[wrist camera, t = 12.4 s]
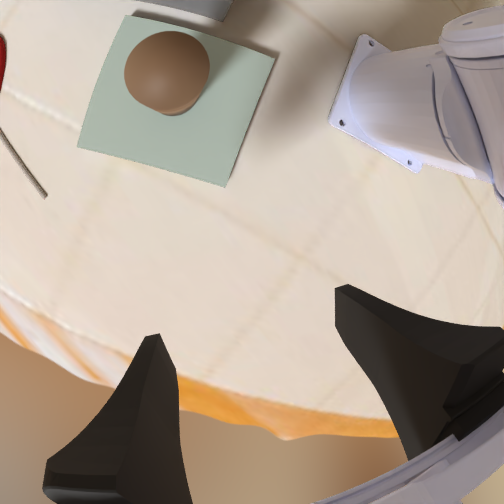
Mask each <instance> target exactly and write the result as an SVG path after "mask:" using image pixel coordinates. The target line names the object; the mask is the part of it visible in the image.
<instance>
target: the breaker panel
mask: <svg viewBox="0 0 504 504" xmlns="http://www.w3.org/2000/svg"><path fill="white" fill-rule="evenodd" d="M136 1H142V2H148V3H153V4H158V5H163V6H167V7H172V8H176V9H180V10H184V11H188V12H192V13H195V14H199V15H202V16H206V17H209V18H212V19H216V20H219V21H222V22H223V20H224V18H225V16H226V14H227V12H228V10H229V8H230V6H231V4H232V2H233V0H136Z"/></svg>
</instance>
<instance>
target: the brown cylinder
mask: <svg viewBox="0 0 504 504" xmlns="http://www.w3.org/2000/svg"><path fill="white" fill-rule="evenodd" d="M209 71H210V61H209V57H208V54H207V51H206V50H205V48H204V46H203V45H202V44H201V43H200V42H199V41H198V40H197V39H196V38H194V37H193V36H191V35H189V34H186V33H183V32H179V31H163V32H159V33H155V34H153V35H150V36H149V37H147V38H145V39H144V40H142V41H141V42H140V43H138V44H137V45H136V46H135V48H134V49H133V50H132V51H131V53H130V54H129V56H128V58H127V61H126V64H125V68H124V80H125V84H126V87H127V89H128V91H129V93H130V94H131V95H132V97H133V98H134V99H135V100H137V101H138V102H139V103H141V104H143V105H145V106H147V107H149V108H151V109H153V110H155V111H157V112H159V113H161V114H163V115H166V116H178V115H182V114H184V113H186V112H188V111H189V110H190V109H191V108H192V107H193V106H194V105H195V103H196V101H197V99H198V97H199V95H200V93H201V91H202V89H203V88H204V86H205V84H206V82H207V79H208V76H209Z"/></svg>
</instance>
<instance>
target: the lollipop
mask: <svg viewBox="0 0 504 504" xmlns="http://www.w3.org/2000/svg"><path fill="white" fill-rule="evenodd" d="M5 62H6V48H5V43H4V41H3V39H2V38H1V37H0V91H1V86H2V81H3V76H4V70H5ZM0 139H1V140H2V142H3V144H4V145H5V147H6V148H7V150H8V151H9V153H10V154H11V156H12V157H13V158H14V160H15V161H16V163H17V164H18V166H19V167H20V168H21V170H22V171H23V173H24V174H25V175H26V177H27V178H28V179H29V181H30V182H31V183H32V185H33V186H34V187H35V189H36V190H37V191H38V193H39V194H40V195H41V197H42V198H43V199H45V198H46V197H47V195H46V194H45V192H44V191H43V190H42V189H41V187H40V186H39V185H38V183H37V182H36V181H35V179H34V178H33V177H32V175H31V174H30V173H29V171H28V170H27V168H26V167H25V166H24V164H23V163H22V161H21V160H20V159H19V157H18V156H17V154H16V153H15V151H14V150H13V148H12V147H11V145H10V144H9V142H8V141H7V139H6V138H5V136H4V135H3V133H2V132H1V130H0Z"/></svg>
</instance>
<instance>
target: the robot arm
mask: <svg viewBox="0 0 504 504" xmlns="http://www.w3.org/2000/svg"><path fill="white" fill-rule="evenodd" d="M369 42H371V44H372V46H370V45H369ZM438 42H439V44H432V45H426V46H420V47H414V48H409V49H404V50H399V51H394V52H392V51H390V50H389V49H387V48H386V47H385V46H383V45H382V44H380V43H379V42H377V41H376V40H374V39H373V38H371V37H370V36H368V35H366V34H362V35H360V36H359V37H358V40H357V42H356V45H355V48H354V50H353V53H352V56H351V59H350V61H349V64H348V67H347V69H346V72H345V75H344V77H343V80H342V82H341V85H340V88H339V90H338V93H337V96H336V98H335V101H334V103H333V106H332V109H331V111H330V114H329V116H328V122H329V124H330V125H332V126H333V127H335V128H337V129H339V130H341V131H343V132H345V133H347V134H349V135H351V136H353V137H354V138H356V139H358V140H360V141H362V142H364V143H365V144H367V145H369V146H371V147H372V148H374V149H376V150H378V151H379V152H381V153H383V154H385V155H386V156H388V157H390V158H391V159H393V160H395V161H396V162H398V163H399V164H401V165H403V166H404V167H406V168H407V169H409V170H410V171H412V172H414V173H419V172H420V171H421V168H422V165H423V164H426V165H430V166H433V167H437V168H440V169H443V170H446V171H450V172H453V173H456V174H459V175H462V176H465V177H468V178H473V179H479V180H482V181H485V182H487V183H490V184H493V188H494V193H495V196H496V198H497V201H498V202H499V204H500V205H501V207H502V208H503V209H504V5H500V6H493V7H488V8H484V9H480V10H476V11H473V12H470V13H467V14H464V15H461V16H459V17H457V18H455V19H453V20H451V21H449V22H448V23H446V24H445V25H444V27H443V30H442V33H441V35H440V37H439V39H438ZM340 120H343V125H342V126H341V125H340V124H339V121H340ZM408 160H409V164H408ZM335 327H336V329H337V331H338V333H339V335H340V337H341V338H342V340H343V342H344V344H345V346H346V347H347V348H348V350H349V351H350V353H351V354H352V355H353V357H354V358H355V360H356V361H357V362H358V364H359V365H360V367H361V368H362V369H363V371H364V372H365V373H366V375H367V376H368V378H369V379H370V380H371V382H372V384H373V385H374V387H375V388H376V390H377V392H378V394H379V396H380V397H381V399H382V401H383V403H384V405H385V407H386V409H387V411H388V413H389V415H390V417H391V419H392V421H393V423H394V426H395V428H396V430H397V433H398V435H399V437H400V439H401V442H402V445H403V447H404V450H405V453H406V455H407V458H408V462H406V463H404V464H403V465H401V466H399V467H397V468H395V469H393V470H391V471H389V472H387V473H385V474H383V475H381V476H379V477H377V478H375V479H372V480H370V481H368V482H366V483H364V484H361V485H359V486H357V487H354V488H352V489H349V490H347V491H345V492H342V493H339V494H337V495H334V496H331V497H329V498H326V499H323V500H320V501H317V502H314V503H311V504H368V503H370V502H372V503H370V504H463V503H462V502H461V500H460V499H462V498H463V497H465V496H466V495H467V494H469V493H470V492H471V491H472V490H474V489H475V488H476V487H477V486H479V485H480V484H481V483H482V482H484V481H485V480H486V479H487V478H488V477H489V476H491V475H492V474H493V473H494V472H495V471H496V470H497V469H499V468H500V467H501V466H502V465H503V464H504V373H503V372H502V370H503V369H504V330H503V329H502V328H501V327H482V326H469V325H460V324H454V323H449V322H444V321H439V320H435V319H431V318H428V317H425V316H421V315H418V314H415V313H412V312H409V311H407V310H404V309H402V308H399V307H397V306H394V305H392V304H390V303H388V302H385V301H383V300H381V299H379V298H377V297H375V296H373V295H370V294H368V293H366V292H364V291H362V290H360V289H358V288H356V287H354V286H351V285H349V284H346V285H343V286H340V287H337V288H335ZM405 485H407V486H405ZM403 486H405V487H403ZM401 487H403V488H401ZM399 488H401V489H399ZM42 489H43V492H44V494H45V495H46V496H47V497H48V498H49V499H51V500H52V501H54V502H55V503H57V504H193V503H192V499H191V495H190V491H189V487H188V483H187V478H186V473H185V468H184V463H183V458H182V452H181V446H180V431H179V389H178V381H177V374H176V368H175V366H174V364H173V362H172V360H171V358H170V356H169V353H168V351H167V349H166V347H165V345H164V342H163V340H162V338H161V336H160V333H159V334H154V335H150V336H145V338H144V340H143V341H142V343H141V345H140V347H139V349H138V351H137V353H136V355H135V356H134V358H133V360H132V362H131V364H130V366H129V368H128V369H127V371H126V373H125V375H124V377H123V378H122V380H121V382H120V383H119V385H118V386H117V388H116V390H115V391H114V393H113V394H112V396H111V397H110V399H109V400H108V401H107V403H106V404H105V405H104V407H103V408H102V409H101V411H100V412H99V413H98V414H97V415H96V416H95V418H94V419H93V420H92V421H91V422H90V423H89V424H88V425H87V427H86V428H85V429H84V430H83V431H82V432H81V433H80V434H79V435H78V436H77V437H76V438H74V439H73V440H72V441H71V442H70V443H69V444H67V445H66V446H65V447H64V448H63V449H61V450H60V451H58V452H57V453H56V454H55V455H53V456H52V457H50V458H49V459H48V460H47V463H46V469H45V475H44V481H43V488H42ZM397 489H399V490H397ZM395 490H396V491H395ZM393 491H395V492H393ZM391 492H393V493H391ZM389 493H391V494H389ZM387 494H389V495H387ZM385 495H387V496H385ZM383 496H385V497H383ZM381 497H383V498H381ZM379 498H380V499H379ZM377 499H378V500H377ZM375 500H376V501H375ZM373 501H374V502H373Z"/></svg>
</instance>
